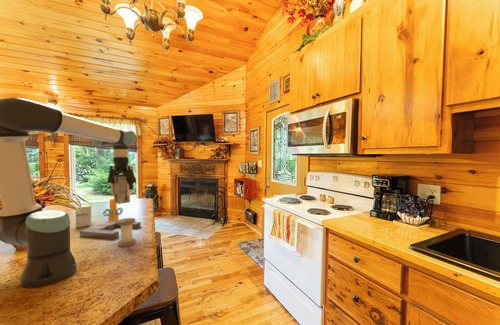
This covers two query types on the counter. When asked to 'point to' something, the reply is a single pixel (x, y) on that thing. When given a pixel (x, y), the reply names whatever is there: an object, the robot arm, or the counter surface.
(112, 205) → the grey orange looped piece
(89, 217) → the supplement box
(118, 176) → the coffee box
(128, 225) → the spool
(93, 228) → the notched board
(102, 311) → the counter surface
